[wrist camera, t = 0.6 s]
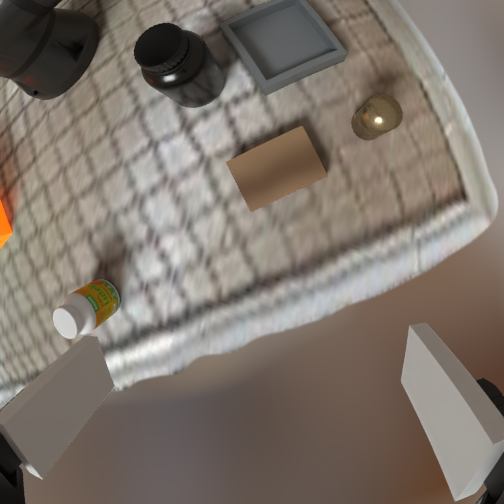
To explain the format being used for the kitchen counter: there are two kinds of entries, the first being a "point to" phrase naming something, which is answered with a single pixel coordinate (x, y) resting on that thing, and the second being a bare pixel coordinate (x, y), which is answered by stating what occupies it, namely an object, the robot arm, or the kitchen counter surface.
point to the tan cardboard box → (276, 168)
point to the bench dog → (377, 117)
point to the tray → (282, 42)
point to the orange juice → (4, 226)
